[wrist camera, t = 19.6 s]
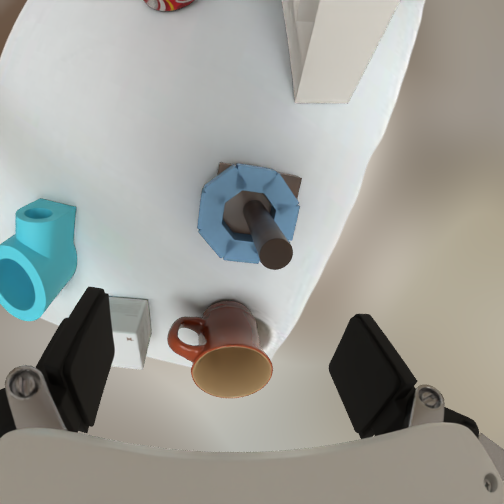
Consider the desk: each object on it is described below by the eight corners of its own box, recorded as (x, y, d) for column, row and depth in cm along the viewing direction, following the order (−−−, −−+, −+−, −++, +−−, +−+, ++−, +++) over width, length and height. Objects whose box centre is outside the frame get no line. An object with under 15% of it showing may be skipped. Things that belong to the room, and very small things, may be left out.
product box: (106, 294, 34) (88, 327, 27) (148, 298, 35) (137, 333, 28) (112, 330, 36) (98, 365, 30) (152, 334, 37) (143, 371, 31)
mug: (271, 308, 38) (288, 361, 29) (238, 351, 40) (245, 405, 31) (191, 269, 34) (184, 319, 25) (162, 319, 37) (151, 374, 27)
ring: (206, 159, 28) (206, 160, 26) (299, 173, 30) (306, 177, 28) (195, 248, 32) (194, 257, 30) (281, 257, 33) (286, 266, 31)
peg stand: (219, 162, 30) (222, 180, 17) (298, 176, 31) (350, 204, 19) (207, 238, 33) (204, 302, 21) (281, 248, 35) (316, 312, 22)
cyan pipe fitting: (24, 194, 27) (-18, 214, 19) (80, 208, 29) (43, 233, 21) (25, 274, 31) (-7, 307, 23) (76, 291, 33) (49, 331, 25)
